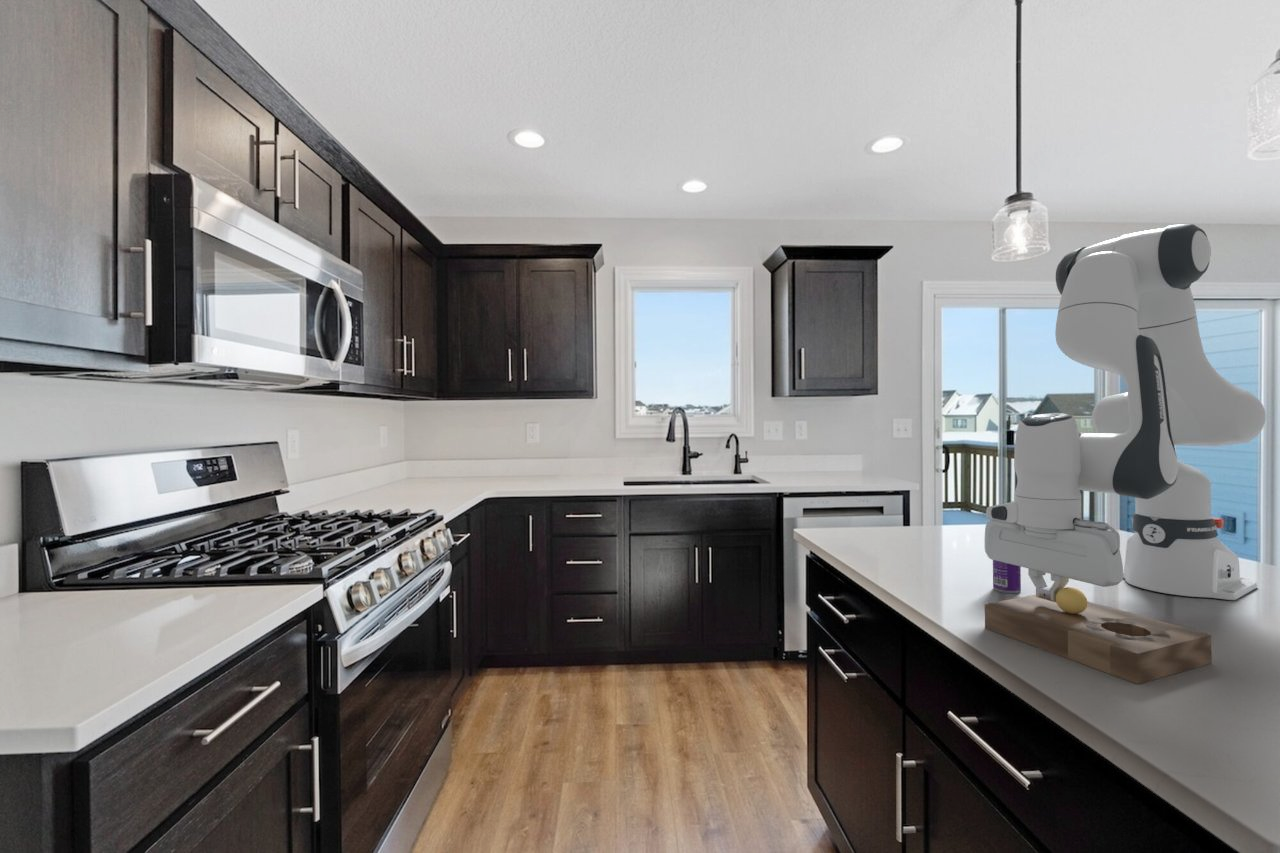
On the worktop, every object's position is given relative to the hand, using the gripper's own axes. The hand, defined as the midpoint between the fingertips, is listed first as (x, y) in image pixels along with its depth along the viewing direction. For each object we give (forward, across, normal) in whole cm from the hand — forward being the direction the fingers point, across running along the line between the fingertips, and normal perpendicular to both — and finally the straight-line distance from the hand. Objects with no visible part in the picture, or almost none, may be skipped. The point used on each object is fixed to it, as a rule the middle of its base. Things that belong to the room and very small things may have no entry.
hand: (1048, 599), depth 94 cm
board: (+5, -6, 0) cm, 8 cm away
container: (+5, +18, -14) cm, 24 cm away
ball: (-1, -4, 0) cm, 4 cm away
